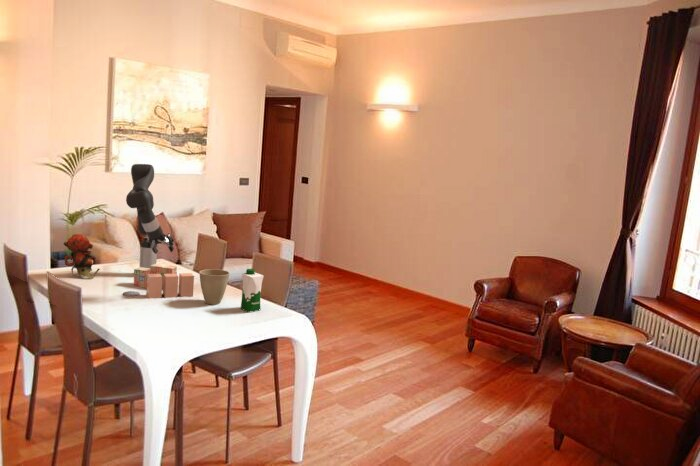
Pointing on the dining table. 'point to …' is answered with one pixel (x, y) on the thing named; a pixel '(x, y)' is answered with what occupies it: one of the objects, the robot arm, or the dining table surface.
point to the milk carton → (251, 290)
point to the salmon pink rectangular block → (154, 285)
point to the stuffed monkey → (80, 255)
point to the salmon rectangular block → (170, 285)
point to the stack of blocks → (161, 269)
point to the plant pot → (213, 284)
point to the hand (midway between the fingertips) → (164, 251)
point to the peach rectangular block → (186, 284)
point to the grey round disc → (131, 293)
